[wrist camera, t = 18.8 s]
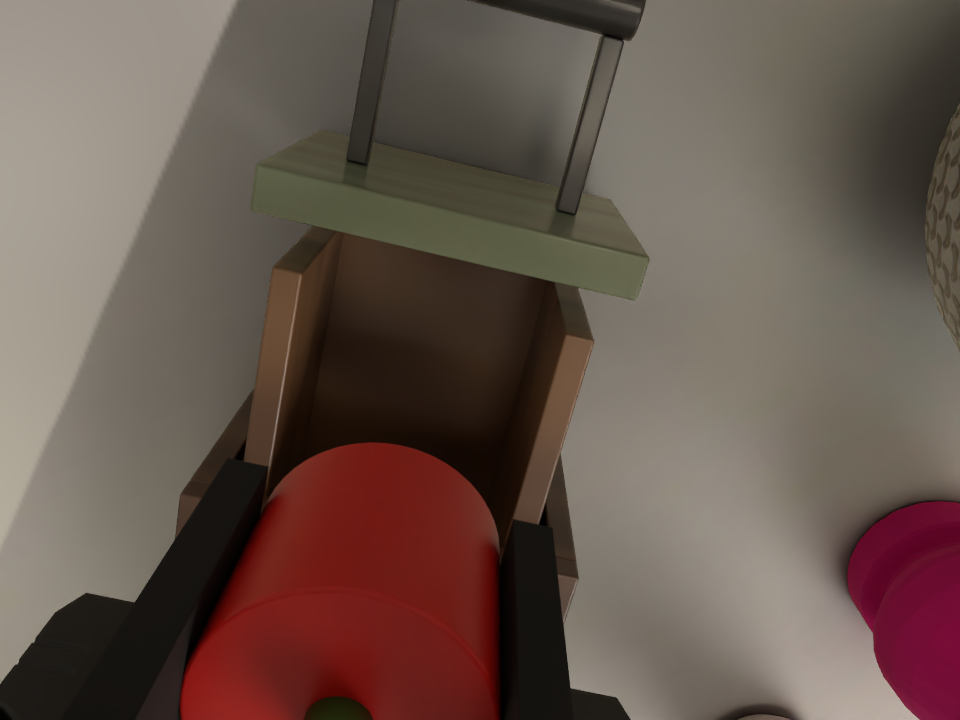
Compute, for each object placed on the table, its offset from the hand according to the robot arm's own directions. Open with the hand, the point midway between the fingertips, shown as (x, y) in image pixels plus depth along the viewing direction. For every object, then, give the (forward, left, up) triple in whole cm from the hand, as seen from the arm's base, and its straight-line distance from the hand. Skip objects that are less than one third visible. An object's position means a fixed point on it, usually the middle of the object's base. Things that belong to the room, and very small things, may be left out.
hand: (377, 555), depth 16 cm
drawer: (-2, 0, -15) cm, 15 cm away
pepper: (0, 0, 0) cm, 0 cm away
